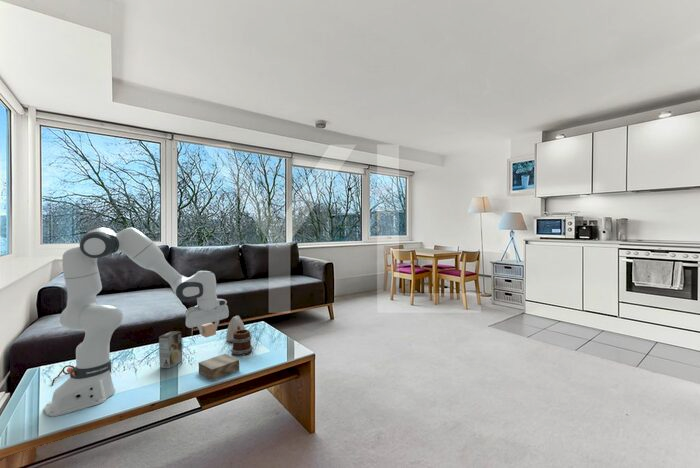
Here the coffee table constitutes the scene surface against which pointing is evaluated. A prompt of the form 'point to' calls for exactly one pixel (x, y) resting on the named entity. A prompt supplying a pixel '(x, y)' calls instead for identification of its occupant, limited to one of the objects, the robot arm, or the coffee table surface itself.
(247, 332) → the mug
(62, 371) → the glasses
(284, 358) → the coffee table surface
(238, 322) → the sculpture
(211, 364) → the block
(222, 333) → the coffee table surface
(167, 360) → the coffee box
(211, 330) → the cube
